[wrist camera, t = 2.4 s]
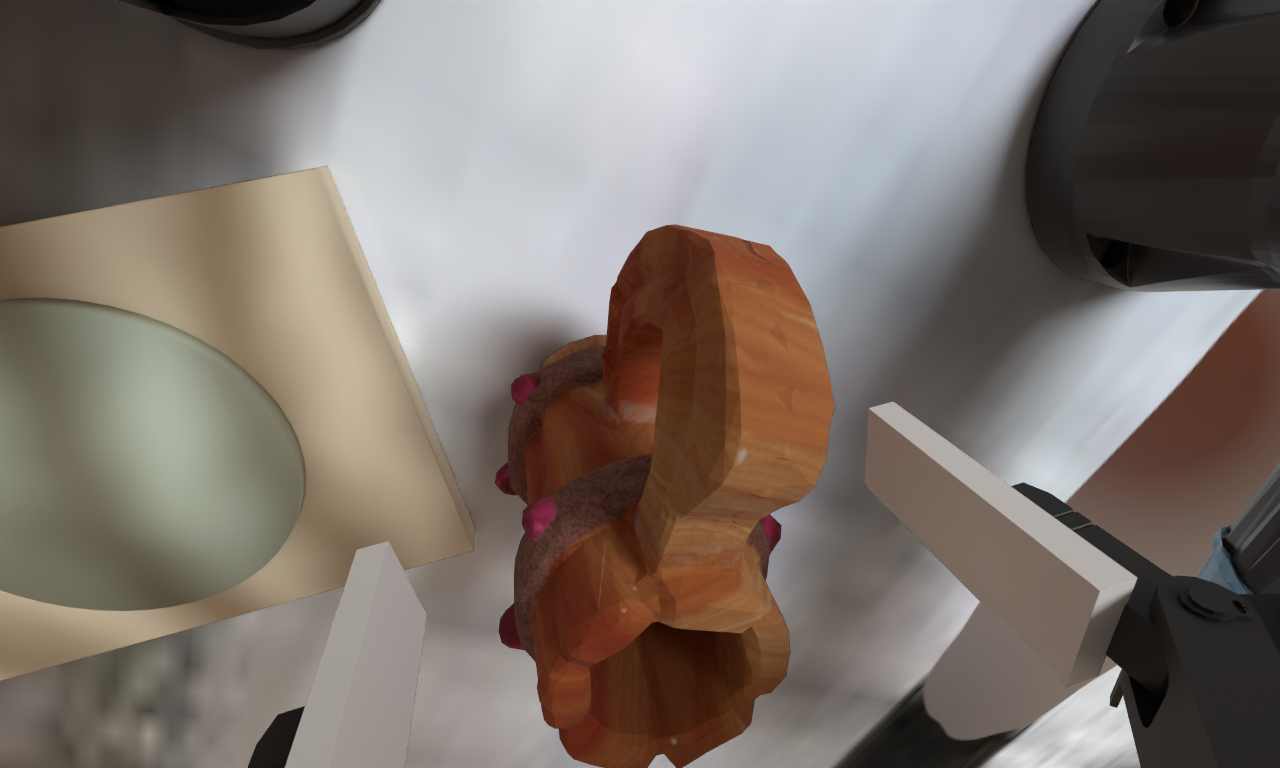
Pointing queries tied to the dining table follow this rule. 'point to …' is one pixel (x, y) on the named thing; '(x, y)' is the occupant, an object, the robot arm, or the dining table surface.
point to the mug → (665, 499)
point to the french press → (266, 19)
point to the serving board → (201, 418)
